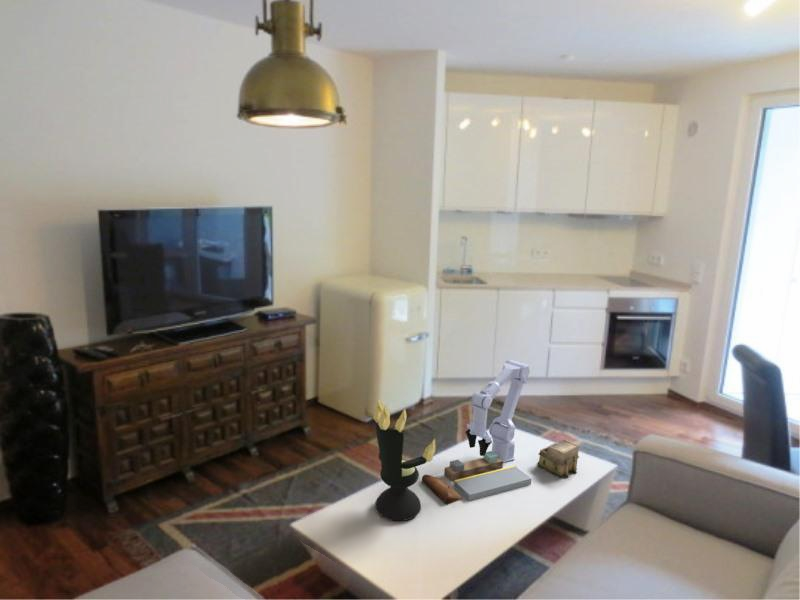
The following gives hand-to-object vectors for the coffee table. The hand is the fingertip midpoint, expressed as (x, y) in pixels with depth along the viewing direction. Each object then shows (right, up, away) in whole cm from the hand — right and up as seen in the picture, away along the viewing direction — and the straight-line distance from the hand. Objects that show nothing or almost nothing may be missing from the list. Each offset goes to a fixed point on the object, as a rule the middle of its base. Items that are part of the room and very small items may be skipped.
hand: (477, 451), depth 231 cm
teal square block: (+6, -5, +5) cm, 9 cm away
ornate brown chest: (+36, -9, +8) cm, 38 cm away
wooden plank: (-1, -9, +2) cm, 10 cm away
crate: (-9, -6, -4) cm, 12 cm away
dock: (+5, -11, -8) cm, 15 cm away
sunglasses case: (-16, -12, -13) cm, 24 cm away
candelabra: (-34, -15, -29) cm, 47 cm away
